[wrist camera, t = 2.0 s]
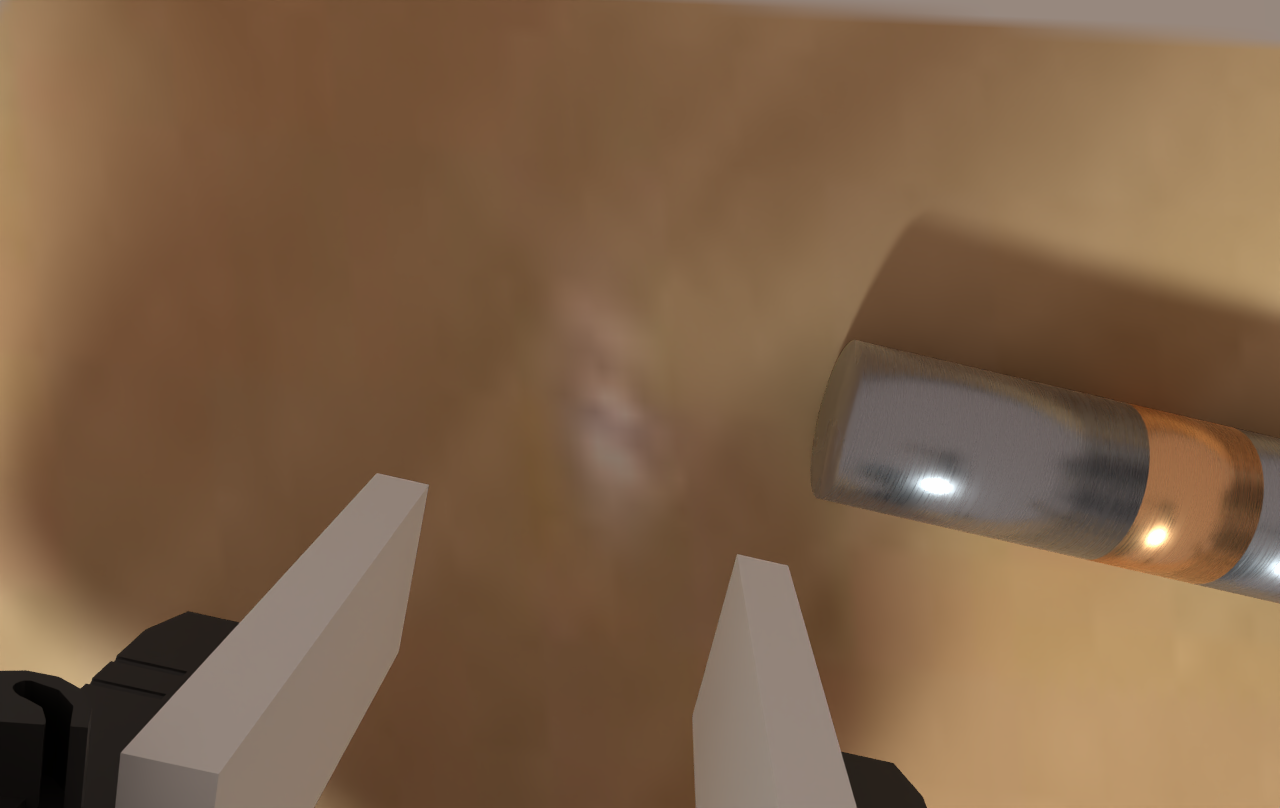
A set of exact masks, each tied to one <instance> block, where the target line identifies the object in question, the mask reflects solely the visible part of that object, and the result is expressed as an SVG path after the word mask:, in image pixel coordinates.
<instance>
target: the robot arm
mask: <svg viewBox="0 0 1280 808" xmlns="http://www.w3.org/2000/svg"><path fill="white" fill-rule="evenodd" d="M428 488H429V485H428V484H424V483H419V482H415V481H411V480H406V479H402V478H397V477H393V476H388V475H384V474H379V473H376V474H375V476H374V477H373V478H372V479H371V480H370V481H369V482H368V483H367V484H366V485H365V486H364V488H363V489H362V490H361V491H360V492H359V493H358V494H357V495H356V496H355V497H354V498H353V500H352V501H351V502H350V503H349V504H348V505H347V506H346V507H345V508H344V509H343V510H342V512H341V513H340V514H339V515H338V516H337V517H336V518H335V519H334V520H333V521H332V522H331V524H330V525H329V526H328V527H327V528H326V529H325V530H324V531H323V532H322V533H321V535H320V536H319V537H318V538H317V539H316V540H315V541H314V542H313V543H312V544H311V545H310V547H309V548H308V549H307V550H306V551H305V552H304V553H303V554H302V555H301V556H300V557H299V559H298V560H297V561H296V562H295V563H294V564H293V565H292V566H291V567H290V568H289V569H288V571H287V572H286V573H285V574H284V575H283V576H282V577H281V578H280V579H279V580H278V581H277V583H276V584H275V585H274V586H273V587H272V588H271V589H270V590H269V591H268V592H267V593H266V595H265V596H264V597H263V598H262V599H261V600H260V601H259V602H258V603H257V604H256V606H255V607H254V608H253V609H252V610H251V611H250V612H249V613H248V614H247V615H246V616H245V618H244V619H243V620H242V621H241V622H240V623H239V622H234V621H230V620H225V619H221V618H216V617H211V616H207V615H202V614H198V613H193V612H189V611H188V612H186V613H183V614H181V615H179V616H176V617H174V618H172V619H169V620H167V621H165V622H162V623H160V624H158V625H155V626H153V627H151V628H148V629H146V630H145V631H144V632H142V633H141V634H140V635H139V636H138V637H137V638H136V639H135V640H134V641H133V642H131V643H130V644H129V645H128V646H127V647H126V648H125V649H124V650H123V651H122V652H120V653H119V654H118V655H117V657H116V660H115V662H112V661H111V662H109V663H108V664H107V665H106V666H105V667H104V668H103V669H102V670H101V671H100V672H98V673H97V674H96V675H95V676H94V677H93V678H92V681H91V683H90V684H85V685H84V686H83V687H82V688H81V689H80V688H78V687H76V686H74V685H73V684H71V683H69V682H67V681H65V680H63V679H62V678H60V677H57V676H51V675H46V674H41V673H36V672H31V671H0V808H314V807H315V805H316V803H317V801H318V800H319V798H320V796H321V794H322V792H323V790H324V789H325V787H326V785H327V783H328V781H329V779H330V778H331V776H332V774H333V772H334V770H335V768H336V767H337V765H338V763H339V761H340V759H341V757H342V756H343V754H344V752H345V750H346V748H347V746H348V744H349V743H350V741H351V739H352V737H353V735H354V733H355V732H356V730H357V728H358V726H359V724H360V722H361V721H362V719H363V717H364V715H365V713H366V711H367V710H368V708H369V706H370V704H371V702H372V700H373V699H374V697H375V695H376V693H377V691H378V689H379V687H380V686H381V684H382V682H383V680H384V678H385V676H386V675H387V673H388V671H389V669H390V667H391V665H392V664H393V662H394V660H395V658H396V656H397V654H398V653H399V648H400V643H401V637H402V631H403V626H404V620H405V615H406V609H407V604H408V598H409V593H410V587H411V582H412V576H413V571H414V565H415V560H416V554H417V549H418V543H419V538H420V532H421V526H422V521H423V515H424V510H425V504H426V499H427V493H428ZM692 723H693V750H694V776H695V802H696V808H927V807H926V804H925V802H924V799H923V797H922V795H921V794H920V793H919V792H918V791H917V790H916V789H915V787H914V786H913V785H912V784H911V783H910V782H909V781H908V779H907V778H906V777H905V776H904V775H903V774H902V772H901V771H900V770H899V769H898V768H897V767H896V766H895V764H894V763H890V762H886V761H881V760H876V759H872V758H867V757H863V756H858V755H854V754H849V753H845V752H841V750H840V746H839V743H838V739H837V736H836V732H835V729H834V725H833V722H832V718H831V715H830V711H829V708H828V704H827V701H826V697H825V694H824V690H823V686H822V683H821V679H820V676H819V672H818V669H817V665H816V662H815V658H814V655H813V651H812V648H811V644H810V641H809V637H808V634H807V630H806V627H805V623H804V619H803V616H802V612H801V609H800V605H799V602H798V598H797V595H796V591H795V588H794V584H793V581H792V577H791V574H790V570H789V567H788V565H784V564H779V563H775V562H770V561H766V560H761V559H757V558H752V557H748V556H744V555H739V554H737V556H736V560H735V563H734V567H733V571H732V574H731V578H730V582H729V585H728V589H727V592H726V596H725V600H724V603H723V607H722V611H721V614H720V618H719V621H718V625H717V629H716V632H715V636H714V640H713V643H712V647H711V651H710V654H709V658H708V661H707V665H706V669H705V672H704V676H703V680H702V683H701V687H700V690H699V694H698V698H697V701H696V705H695V709H694V712H693V716H692Z"/></svg>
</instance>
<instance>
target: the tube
mask: <svg viewBox="0 0 1280 808" xmlns="http://www.w3.org/2000/svg"><path fill="white" fill-rule="evenodd" d="M811 487H812V491H813V494H814V496H815V497H816V498H818V499H822V500H827V501H831V502H835V503H840V504H844V505H849V506H853V507H857V508H862V509H866V510H871V511H875V512H879V513H884V514H888V515H893V516H897V517H901V518H906V519H910V520H915V521H919V522H923V523H928V524H932V525H937V526H941V527H945V528H950V529H954V530H959V531H963V532H967V533H972V534H976V535H981V536H985V537H989V538H994V539H998V540H1003V541H1007V542H1011V543H1016V544H1020V545H1025V546H1029V547H1033V548H1038V549H1042V550H1047V551H1051V552H1055V553H1060V554H1064V555H1069V556H1073V557H1077V558H1082V559H1086V560H1091V561H1095V562H1099V563H1104V564H1108V565H1113V566H1117V567H1121V568H1126V569H1130V570H1135V571H1139V572H1143V573H1148V574H1152V575H1157V576H1161V577H1166V578H1170V579H1174V580H1179V581H1183V582H1188V583H1192V584H1196V585H1201V586H1205V587H1210V588H1214V589H1218V590H1223V591H1227V592H1232V593H1236V594H1240V595H1245V596H1249V597H1254V598H1258V599H1262V600H1267V601H1271V602H1276V603H1280V438H1276V437H1272V436H1267V435H1263V434H1259V433H1254V432H1250V431H1246V430H1241V429H1237V428H1233V427H1229V426H1224V425H1220V424H1216V423H1211V422H1207V421H1203V420H1198V419H1194V418H1190V417H1185V416H1181V415H1177V414H1173V413H1168V412H1164V411H1160V410H1155V409H1151V408H1147V407H1142V406H1138V405H1134V404H1129V403H1125V402H1121V401H1117V400H1112V399H1108V398H1104V397H1099V396H1095V395H1091V394H1086V393H1082V392H1078V391H1073V390H1069V389H1065V388H1061V387H1056V386H1052V385H1048V384H1043V383H1039V382H1035V381H1030V380H1026V379H1022V378H1017V377H1013V376H1009V375H1005V374H1000V373H996V372H992V371H987V370H983V369H979V368H974V367H970V366H966V365H961V364H957V363H953V362H948V361H944V360H940V359H936V358H931V357H927V356H923V355H918V354H914V353H910V352H905V351H901V350H897V349H892V348H888V347H884V346H880V345H875V344H871V343H867V342H862V341H858V340H852V341H850V342H849V343H848V344H847V345H846V346H845V348H844V349H843V350H842V352H841V354H840V355H839V357H838V359H837V361H836V363H835V366H834V368H833V370H832V373H831V375H830V378H829V381H828V384H827V387H826V390H825V393H824V396H823V400H822V403H821V407H820V411H819V415H818V419H817V424H816V429H815V434H814V440H813V447H812V456H811Z"/></svg>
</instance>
